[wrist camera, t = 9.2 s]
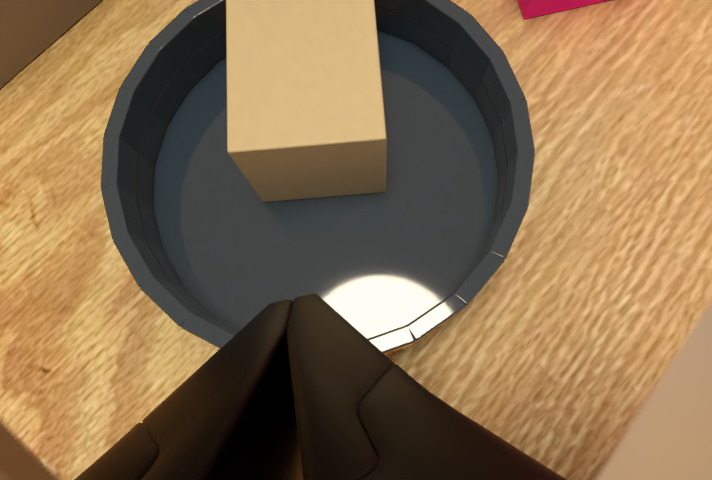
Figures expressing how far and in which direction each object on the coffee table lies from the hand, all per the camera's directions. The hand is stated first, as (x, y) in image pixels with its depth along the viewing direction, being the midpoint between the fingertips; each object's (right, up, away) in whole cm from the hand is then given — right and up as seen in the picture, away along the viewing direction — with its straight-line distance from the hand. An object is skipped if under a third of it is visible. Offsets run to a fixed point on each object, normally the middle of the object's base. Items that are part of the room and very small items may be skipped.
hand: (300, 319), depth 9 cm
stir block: (0, +4, +10) cm, 10 cm away
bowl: (0, +4, +13) cm, 13 cm away
